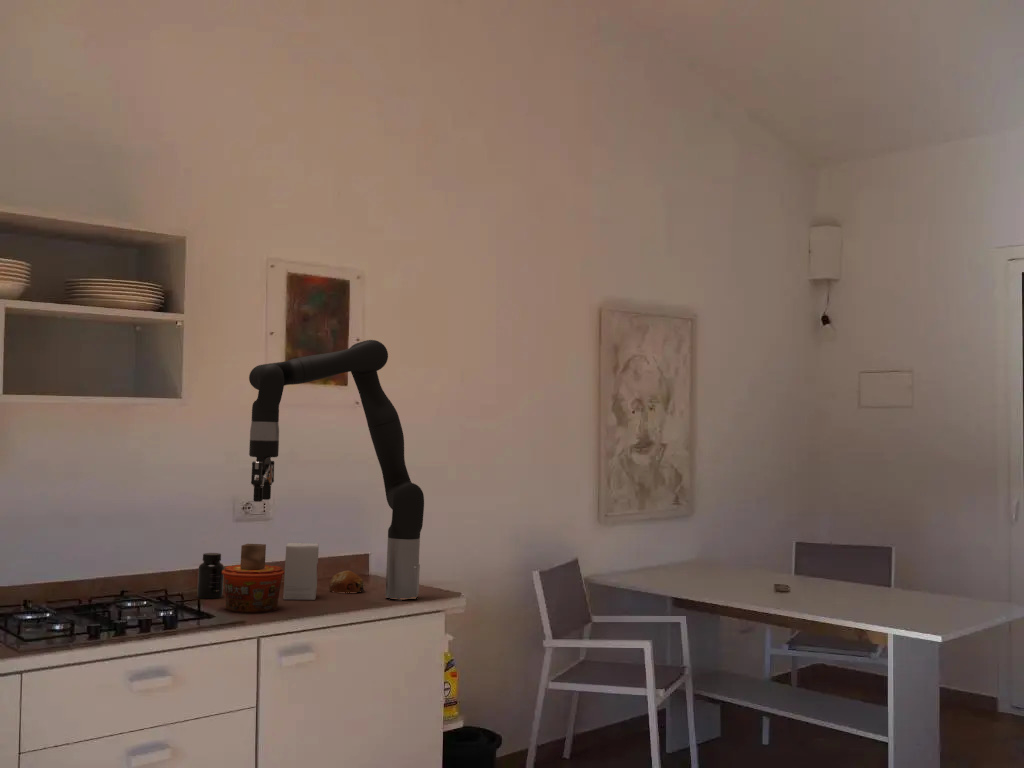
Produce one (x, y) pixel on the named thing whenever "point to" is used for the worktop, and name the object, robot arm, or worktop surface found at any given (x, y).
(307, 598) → the supplement box
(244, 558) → the walnut block
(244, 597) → the food container
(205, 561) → the supplement bottle
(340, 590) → the bread roll
